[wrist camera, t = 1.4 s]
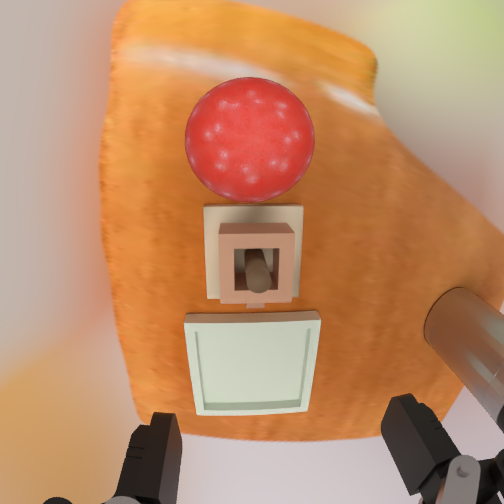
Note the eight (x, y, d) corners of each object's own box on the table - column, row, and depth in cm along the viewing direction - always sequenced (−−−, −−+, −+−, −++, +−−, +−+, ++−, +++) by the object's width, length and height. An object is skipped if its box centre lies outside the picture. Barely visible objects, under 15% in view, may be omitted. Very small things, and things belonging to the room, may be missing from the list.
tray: (316, 310, 32) (321, 319, 30) (304, 400, 37) (307, 411, 35) (186, 313, 32) (183, 323, 30) (198, 404, 36) (196, 415, 34)
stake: (300, 204, 29) (323, 221, 21) (295, 290, 31) (313, 331, 24) (204, 204, 28) (193, 222, 21) (208, 292, 31) (201, 334, 23)
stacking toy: (188, 118, 26) (111, 58, 8) (271, 95, 25) (333, 1, 8) (213, 198, 28) (177, 270, 10) (295, 174, 28) (394, 206, 10)
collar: (286, 222, 28) (295, 233, 24) (283, 292, 30) (290, 312, 26) (220, 223, 27) (218, 234, 24) (222, 294, 29) (220, 314, 26)
